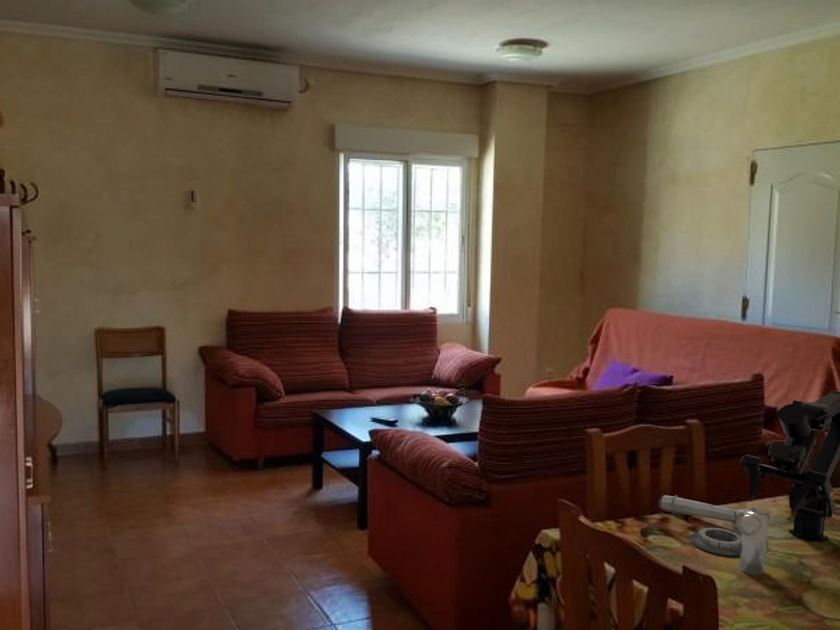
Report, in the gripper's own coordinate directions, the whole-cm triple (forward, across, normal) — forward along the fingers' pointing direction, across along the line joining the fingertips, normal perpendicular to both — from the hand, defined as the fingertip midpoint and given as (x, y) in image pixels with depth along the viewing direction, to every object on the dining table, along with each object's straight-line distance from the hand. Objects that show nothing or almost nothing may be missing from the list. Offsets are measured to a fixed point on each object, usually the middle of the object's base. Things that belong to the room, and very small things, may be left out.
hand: (770, 506), depth 174 cm
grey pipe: (+1, -20, +18) cm, 27 cm away
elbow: (+14, 0, +4) cm, 15 cm away
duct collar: (+9, -11, +10) cm, 17 cm away
